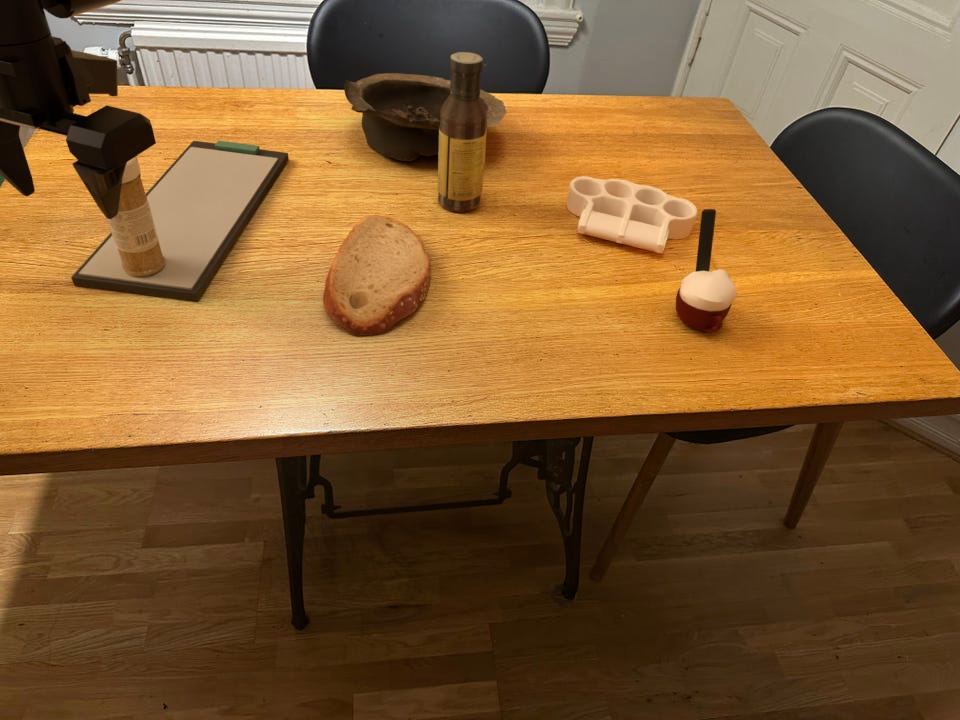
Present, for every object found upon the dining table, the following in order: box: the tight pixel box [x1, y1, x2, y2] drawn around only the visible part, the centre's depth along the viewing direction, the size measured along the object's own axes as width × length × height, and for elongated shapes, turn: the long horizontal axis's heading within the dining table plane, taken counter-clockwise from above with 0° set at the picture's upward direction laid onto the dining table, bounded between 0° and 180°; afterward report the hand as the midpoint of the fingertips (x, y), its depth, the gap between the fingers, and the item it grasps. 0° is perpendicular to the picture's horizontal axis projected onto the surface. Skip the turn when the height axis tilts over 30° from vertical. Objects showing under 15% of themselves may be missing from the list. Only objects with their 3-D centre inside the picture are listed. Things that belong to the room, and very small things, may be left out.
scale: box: [71, 140, 289, 303], centre depth 89 cm, size 34×14×2 cm, turn 175°
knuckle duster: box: [565, 175, 698, 254], centre depth 97 cm, size 3×18×15 cm
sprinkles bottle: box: [106, 155, 165, 276], centre depth 74 cm, size 5×5×13 cm
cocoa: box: [675, 208, 738, 333], centre depth 79 cm, size 10×6×12 cm, turn 167°
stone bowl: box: [343, 72, 508, 162], centre depth 108 cm, size 25×25×9 cm
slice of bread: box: [322, 214, 432, 337], centre depth 82 cm, size 18×18×4 cm
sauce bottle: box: [437, 51, 488, 213], centre depth 91 cm, size 6×6×20 cm
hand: (70, 205), depth 66 cm, fingers open, 9 cm apart
